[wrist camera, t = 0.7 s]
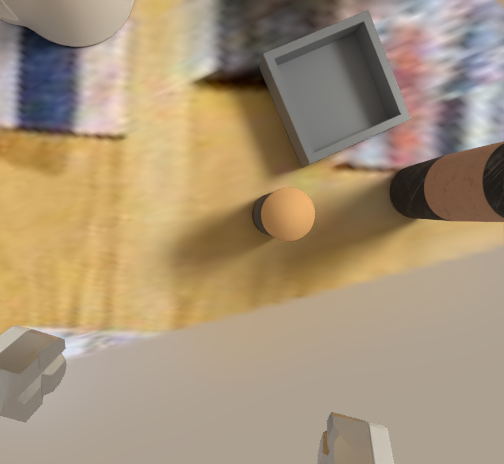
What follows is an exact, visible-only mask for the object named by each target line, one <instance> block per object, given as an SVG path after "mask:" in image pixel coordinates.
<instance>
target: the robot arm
mask: <svg viewBox="0 0 504 464" xmlns="http://www.w3.org/2000/svg"><path fill="white" fill-rule="evenodd" d="M133 3H134V0H0V18H1V19H2V20H3V21H5V22H8V23H11V24H15V25H20V26H25V27H27V28H29V29H31V30H33V31H34V32H36V33H37V34H39V35H41V36H42V37H44V38H46V39H48V40H50V41H52V42H55V43H58V44H61V45H65V46H73V47H81V46H89V45H93V44H97V43H99V42H102V41H104V40H106V39H108V38H109V37H111V36H112V35H114V34H115V33H116V32H117V31H118V30H119V29H120V28H121V27H122V26H123V25H124V23H125V22H126V20H127V18H128V17H129V15H130V12H131V10H132V7H133ZM64 349H65V340H64V339H62V338H59V337H56V336H52V335H49V334H46V333H43V332H39V331H36V330H33V329H29V328H25V327H22V326H19V325H16V326H13V327H11V328H9V329H8V330H7V331H5V332H4V333H3V334H1V335H0V416H3V417H7V418H11V419H15V420H18V421H22V422H26V421H27V420H28V419H29V418H30V417H31V416H32V415H33V414H34V412H35V411H36V410H37V409H38V408H39V407H40V406H41V404H42V400H43V396H44V395H46V394H48V393H51V392H53V391H54V390H55V388H56V387H57V386H58V385H59V384H60V382H61V380H62V378H63V376H64V374H65V370H66V359H65V358H64V356H63V355H62V352H63V351H64ZM318 464H394V461H393V456H392V450H391V445H390V439H389V434H388V430H387V428H386V426H382V425H378V424H375V423H371V422H366V421H363V420H360V419H356V418H352V417H348V416H345V415H341V414H337V413H333V412H331V414H330V415H329V418H328V420H327V431H325V432H323V435H322V438H321V441H320V447H319V451H318Z"/></svg>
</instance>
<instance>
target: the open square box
mask: <svg viewBox="0 0 504 464" xmlns="http://www.w3.org/2000/svg"><path fill="white" fill-rule="evenodd" d="M259 69H260V71H261V73H262V76H263V78H264V80H265V83H266V85H267V87H268V90H269V92H270V94H271V97H272V99H273V101H274V104H275V106H276V108H277V111H278V113H279V115H280V118H281V120H282V122H283V125H284V127H285V129H286V132H287V134H288V136H289V139H290V141H291V143H292V146H293V148H294V150H295V153H296V155H297V157H298V160H299V162H300V164H301V167H302V168H303V167H305V166H308V165H310V164H312V163H314V162H317V161H319V160H321V159H323V158H325V157H328V156H330V155H332V154H334V153H337V152H339V151H341V150H343V149H346V148H348V147H350V146H352V145H355V144H357V143H359V142H361V141H364V140H366V139H368V138H370V137H372V136H375V135H377V134H379V133H381V132H384V131H386V130H388V129H390V128H393V127H395V126H397V125H399V124H401V123H403V122H405V121H407V120H410V119H411V117H410V115H409V112H408V110H407V107H406V105H405V102H404V100H403V97H402V95H401V92H400V89H399V87H398V84H397V82H396V79H395V77H394V74H393V72H392V69H391V67H390V64H389V62H388V59H387V57H386V54H385V51H384V49H383V46H382V44H381V41H380V39H379V36H378V34H377V31H376V29H375V26H374V24H373V21H372V18H371V16H370V13H369V11H368V10H367V11H365V12H362V13H360V14H358V15H355V16H353V17H350V18H348V19H346V20H343V21H341V22H338V23H336V24H334V25H331V26H329V27H326V28H324V29H322V30H319V31H317V32H314V33H312V34H310V35H307V36H305V37H302V38H300V39H298V40H295V41H293V42H290V43H288V44H286V45H283V46H281V47H278V48H276V49H274V50H271V51H269V52H266V53H264V54H263V56H262V59H261V62H260V65H259Z"/></svg>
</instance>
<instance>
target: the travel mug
mask: <svg viewBox="0 0 504 464" xmlns="http://www.w3.org/2000/svg"><path fill="white" fill-rule="evenodd" d="M390 197H391V201H392V204H393V206H394V207H395V208H396V210H397V211H398V212H400V213H401V214H402V215H404V216H407V217H411V218H419V219H432V220H445V221H478V222H504V142H499V143H495V144H491V145H487V146H482V147H478V148H474V149H470V150H465V151H461V152H457V153H453V154H449V155H445V156H442V157H438V158H435V159H432V160H428V161H425V162H422V163H418V164H415V165H412V166H409V167H407V168H404V169H403V170H401V171H400V172H399V173H398V174H397V175H396V176H395V177H394V179H393V181H392V183H391V187H390Z"/></svg>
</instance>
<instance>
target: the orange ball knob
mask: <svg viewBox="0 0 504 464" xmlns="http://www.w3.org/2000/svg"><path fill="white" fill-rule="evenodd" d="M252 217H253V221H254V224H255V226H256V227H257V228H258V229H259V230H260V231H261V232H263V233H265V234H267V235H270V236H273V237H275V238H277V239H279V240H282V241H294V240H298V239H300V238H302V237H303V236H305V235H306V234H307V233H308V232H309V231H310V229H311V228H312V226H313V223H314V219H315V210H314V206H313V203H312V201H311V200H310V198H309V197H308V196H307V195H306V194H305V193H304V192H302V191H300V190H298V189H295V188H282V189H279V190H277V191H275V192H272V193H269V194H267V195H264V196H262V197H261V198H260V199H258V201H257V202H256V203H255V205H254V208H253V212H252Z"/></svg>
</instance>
